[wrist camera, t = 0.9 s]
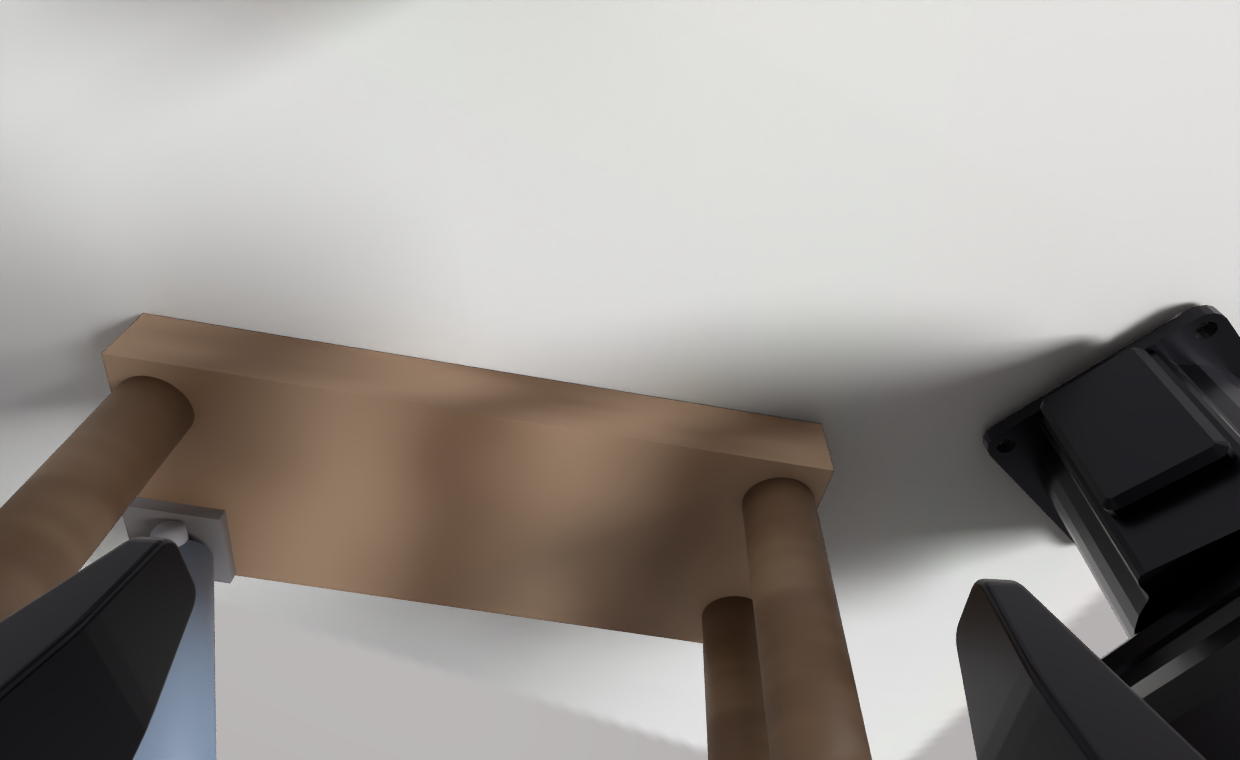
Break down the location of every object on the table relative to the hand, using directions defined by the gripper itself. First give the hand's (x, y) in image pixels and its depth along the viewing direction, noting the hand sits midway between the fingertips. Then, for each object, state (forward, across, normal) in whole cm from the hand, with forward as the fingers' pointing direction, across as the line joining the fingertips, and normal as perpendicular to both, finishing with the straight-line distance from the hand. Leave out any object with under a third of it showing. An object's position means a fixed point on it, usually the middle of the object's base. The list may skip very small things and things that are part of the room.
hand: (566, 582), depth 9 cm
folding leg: (+10, +13, +11) cm, 19 cm away
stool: (+12, +4, +10) cm, 16 cm away
